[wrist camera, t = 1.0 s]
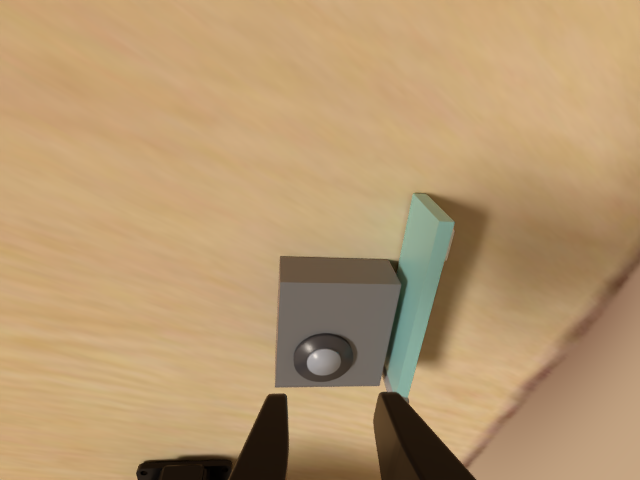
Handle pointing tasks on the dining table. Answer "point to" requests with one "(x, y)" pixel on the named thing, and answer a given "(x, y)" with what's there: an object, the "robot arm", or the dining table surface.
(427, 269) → the side door
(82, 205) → the dining table surface
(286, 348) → the camera body
